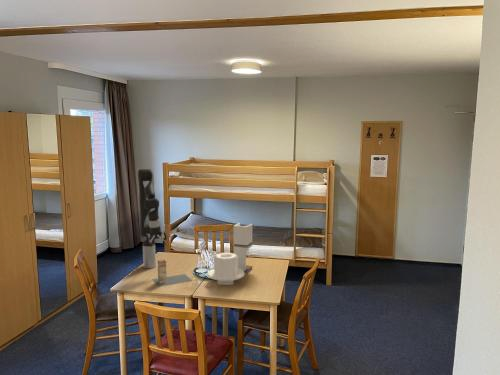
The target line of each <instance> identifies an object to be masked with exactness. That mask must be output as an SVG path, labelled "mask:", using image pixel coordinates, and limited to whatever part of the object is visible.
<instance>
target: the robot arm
mask: <svg viewBox="0 0 500 375" xmlns="http://www.w3.org/2000/svg"><path fill="white" fill-rule="evenodd" d="M137 178H138V188H139V189H138V190H139V192H138V193H139V195H138V196H139V216H140V218H139V219H140V220H139V221H140V223H139V226H140V228H139V232H140V236H141V237H142V238H143V237H144V238H146V239H145V240H142V261H143V262H142V265H143V266H142V267H143V269H154V268H155V267H156V240H158V239H160V240H162V246H165V245H166V241H167V239H168V238H167V237H168V236H167V232H166V230H164V231H162V229H161V222H160V217H159V209H160V208H159V207H160V200H159V199H158V198H156V193H155V182H154V180H155V179H154V171H153V170H152V169H150V168H141V169H138V171H137ZM144 182H148V183H147V184H146V186H145V184H144ZM147 217H148V223H147V224H145V222H146V220H147ZM162 235H163V236H164V237H163V236H162Z"/></svg>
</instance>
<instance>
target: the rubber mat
mask: <svg viewBox="0 0 500 375" xmlns="http://www.w3.org/2000/svg"><path fill="white" fill-rule="evenodd" d="M152 282H153V283H154V284H155V285H156V286H157V287H158V288H160V287H167V286H171V285H177V284H182V283H183V284H184V283H187V282H188V283H190V282H193V280H192V279H191V278H190V277H189V276H188V275H187V274H185V273H182V274H176V275H170V276H166V283H159V282H158V278H152Z"/></svg>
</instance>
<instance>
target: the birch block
mask: <svg viewBox="0 0 500 375" xmlns="http://www.w3.org/2000/svg"><path fill="white" fill-rule="evenodd" d="M166 277H167V261H166V259H158V260H157V279H158V282H159V283H166Z"/></svg>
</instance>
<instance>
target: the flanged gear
mask: <svg viewBox="0 0 500 375" xmlns="http://www.w3.org/2000/svg"><path fill="white" fill-rule="evenodd" d="M244 276H245V273H244V271H243V270H242V269H239V268H238V256H237V255H236V254H234V252H221V253H220V252H219V253H217V254H216V255H214V256H213V268H212V269H210V270H209V271H207V277H208V278H209V279H211V280H215V281H217V284H218V285H220V286H221V285H222V286H223V285H225V286H232V285H234V281H237V280H240V279H242V278H243V277H244Z"/></svg>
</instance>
